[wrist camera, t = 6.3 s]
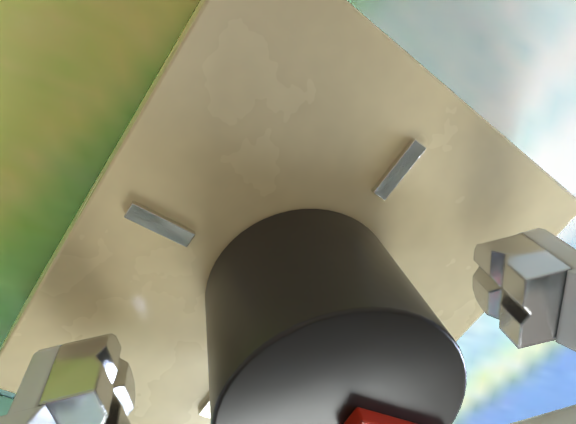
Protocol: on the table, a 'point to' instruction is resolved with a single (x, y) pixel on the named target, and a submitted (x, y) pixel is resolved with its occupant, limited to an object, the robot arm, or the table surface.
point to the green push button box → (5, 405)
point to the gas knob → (324, 330)
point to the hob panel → (274, 187)
